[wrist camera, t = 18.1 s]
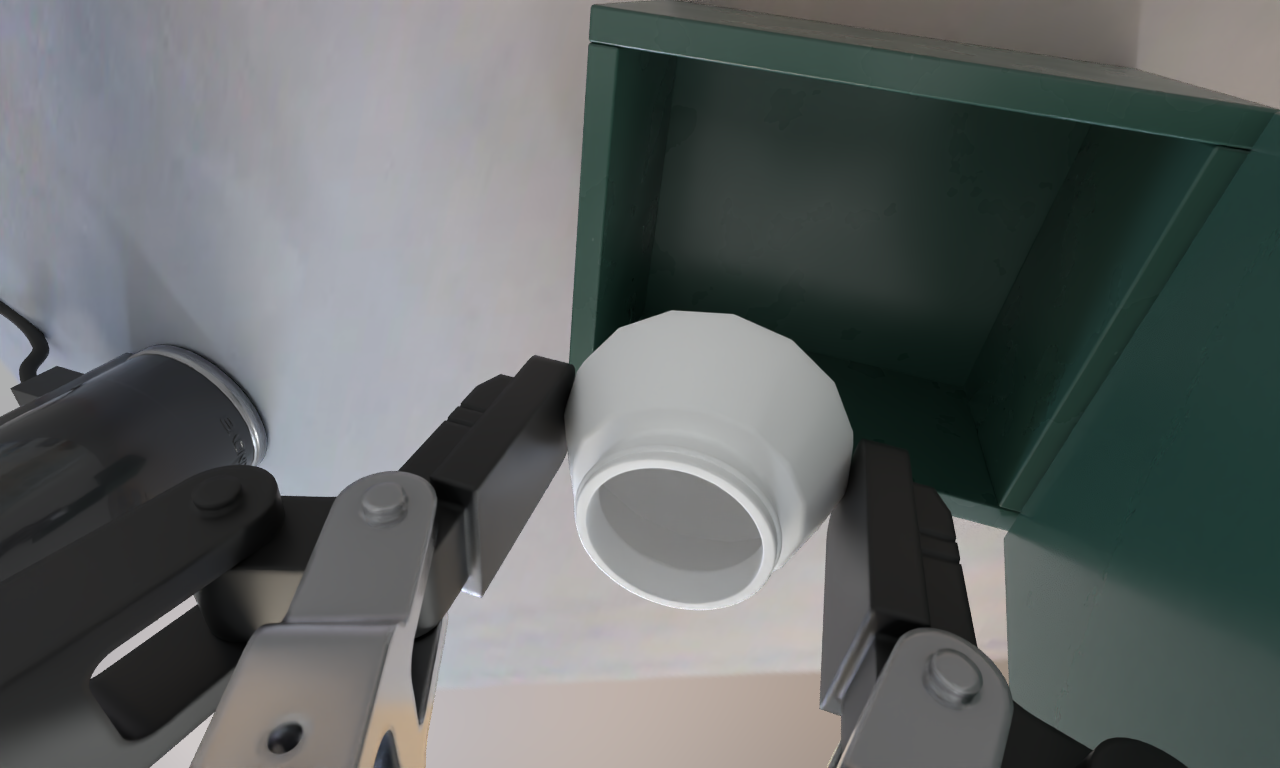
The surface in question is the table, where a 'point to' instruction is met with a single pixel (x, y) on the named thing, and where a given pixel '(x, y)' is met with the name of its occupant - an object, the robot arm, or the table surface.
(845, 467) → the white jar
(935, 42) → the waste bin
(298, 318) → the table surface
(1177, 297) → the bin lid
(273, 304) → the table surface
